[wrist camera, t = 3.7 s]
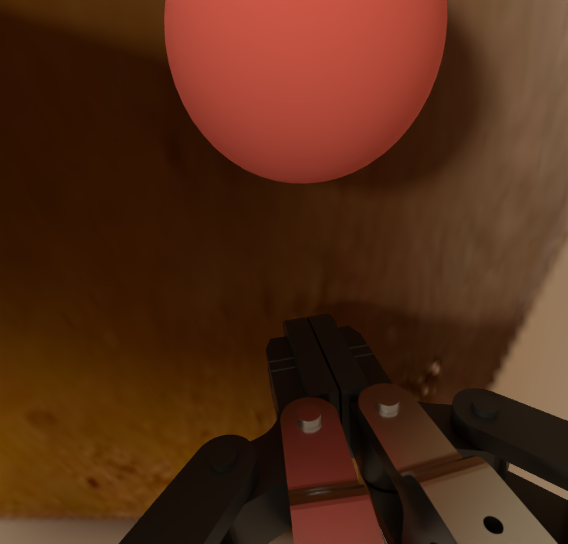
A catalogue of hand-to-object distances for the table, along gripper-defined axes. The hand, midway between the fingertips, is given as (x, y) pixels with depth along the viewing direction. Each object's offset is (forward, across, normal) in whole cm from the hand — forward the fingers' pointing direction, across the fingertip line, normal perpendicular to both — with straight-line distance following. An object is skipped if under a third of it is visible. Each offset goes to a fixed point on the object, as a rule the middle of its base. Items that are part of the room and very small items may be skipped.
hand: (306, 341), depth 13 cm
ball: (-1, 0, -8) cm, 8 cm away
